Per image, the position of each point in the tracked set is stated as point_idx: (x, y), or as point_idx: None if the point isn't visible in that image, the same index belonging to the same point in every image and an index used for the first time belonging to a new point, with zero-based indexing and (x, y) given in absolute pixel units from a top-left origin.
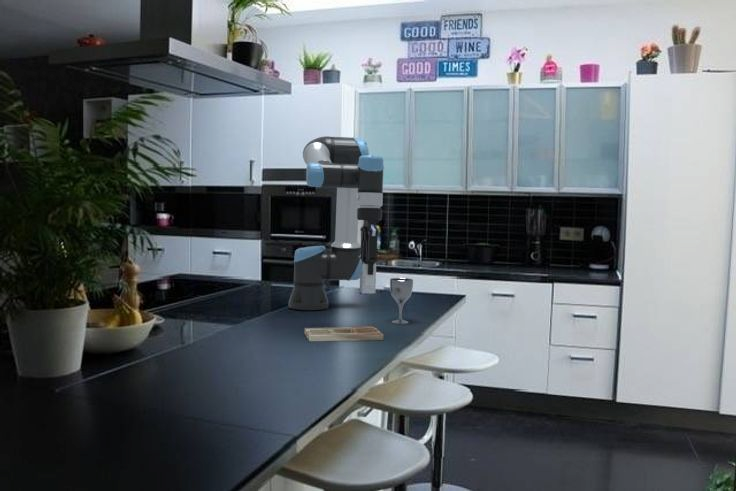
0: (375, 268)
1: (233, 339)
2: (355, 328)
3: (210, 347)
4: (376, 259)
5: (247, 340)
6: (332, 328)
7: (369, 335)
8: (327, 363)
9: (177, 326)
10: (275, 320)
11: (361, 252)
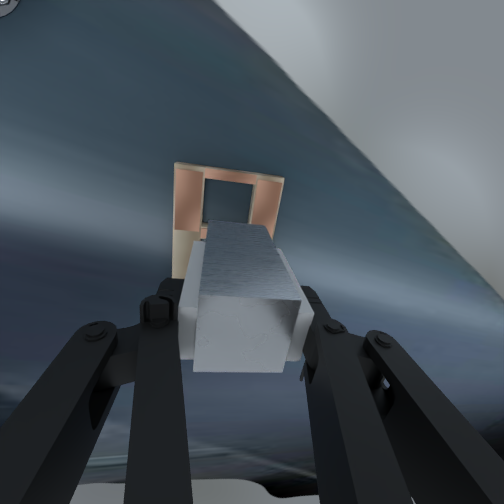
0: (291, 284)
1: (211, 412)
2: (198, 226)
3: (259, 431)
4: (401, 347)
5: (223, 398)
6: (182, 275)
7: (276, 214)
8: (406, 322)
9: (95, 470)
10: (5, 353)
11: (99, 432)
